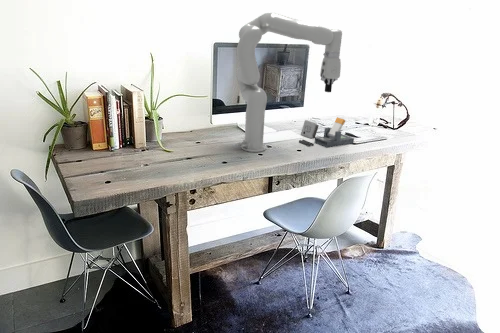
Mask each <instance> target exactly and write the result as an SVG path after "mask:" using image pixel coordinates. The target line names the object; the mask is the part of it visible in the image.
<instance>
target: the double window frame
mask: <svg viewBox="0 0 500 333" xmlns="http://www.w3.org/2000/svg"><path fill="white" fill-rule="evenodd" d="M331 128H332V127H325V128H324V131H323V136H318V137H315V138H314V143H313V144H315V145H317V146H320V147H322V148H325V149H328V148H329V149H330V148H335V147H340V146H341V147H342V146H346V145H353V144H354V142H355V138H354V137H352V136H348V135H345V134H343V133H342V131H341V130H340V131H336V132H335V139H334V138H331V137H329V136H327V134H328V133H329V132H330V130H331Z"/></svg>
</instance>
